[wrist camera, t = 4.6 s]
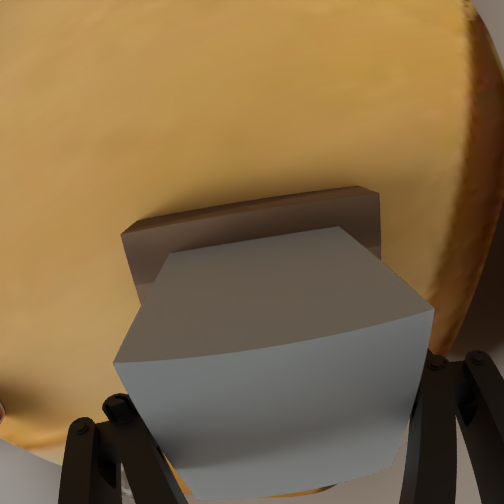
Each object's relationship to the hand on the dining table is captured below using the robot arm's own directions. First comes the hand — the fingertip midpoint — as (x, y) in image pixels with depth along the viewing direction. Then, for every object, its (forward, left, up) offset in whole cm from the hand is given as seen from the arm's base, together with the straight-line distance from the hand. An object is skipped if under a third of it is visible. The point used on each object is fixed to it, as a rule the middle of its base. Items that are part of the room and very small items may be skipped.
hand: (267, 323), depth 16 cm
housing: (0, 0, -1) cm, 1 cm away
